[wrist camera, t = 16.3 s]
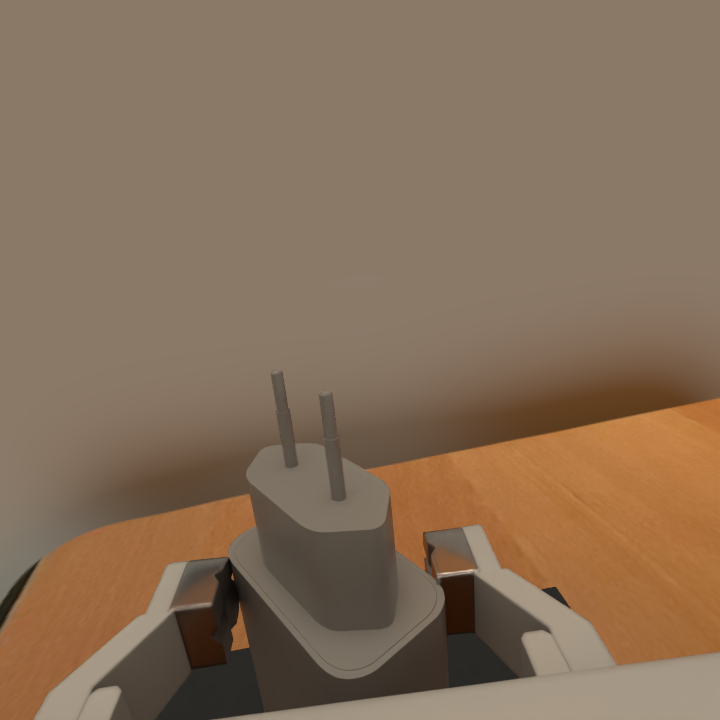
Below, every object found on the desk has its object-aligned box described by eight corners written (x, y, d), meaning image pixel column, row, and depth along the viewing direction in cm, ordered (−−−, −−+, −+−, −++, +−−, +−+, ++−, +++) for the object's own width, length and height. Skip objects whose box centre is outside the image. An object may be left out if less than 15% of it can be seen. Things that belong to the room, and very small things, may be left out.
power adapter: (342, 667, 17) (293, 337, 13) (467, 808, 13) (452, 387, 9) (262, 733, 15) (176, 372, 11) (379, 922, 11) (310, 456, 7)
